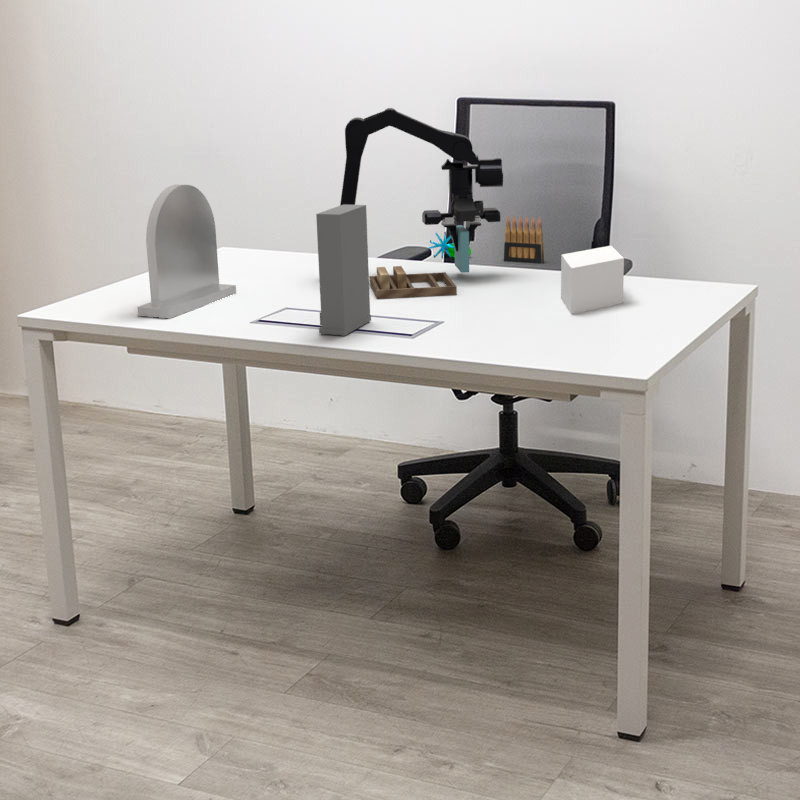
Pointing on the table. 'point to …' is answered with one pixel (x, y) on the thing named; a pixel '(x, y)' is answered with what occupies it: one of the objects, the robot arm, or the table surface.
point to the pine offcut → (382, 278)
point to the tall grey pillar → (343, 269)
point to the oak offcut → (399, 277)
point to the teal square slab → (462, 249)
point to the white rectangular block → (592, 279)
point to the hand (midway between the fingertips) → (461, 250)
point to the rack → (416, 292)
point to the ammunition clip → (523, 242)
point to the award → (182, 254)
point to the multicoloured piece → (445, 247)
